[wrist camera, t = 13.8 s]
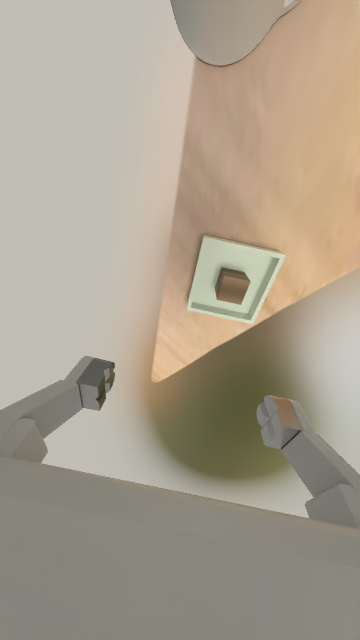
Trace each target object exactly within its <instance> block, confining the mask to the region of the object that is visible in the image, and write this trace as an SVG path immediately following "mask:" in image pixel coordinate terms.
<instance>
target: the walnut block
mask: <svg viewBox="0 0 360 640" xmlns="http://www.w3.org/2000/svg"><path fill="white" fill-rule="evenodd" d="M250 282H251V281H250V280H249V278H248V277H247V275H246V274H245V272H242V271H238V270H233V269H228V268H224V267H221V270H220V273H219V277H218V280H217V283H216V286H215V293H216V299H217V300H220V301H225V302H230V303H234V304H239V305H241V304H242V301H243V299H244V297H245V294H246V292H247V289H248V287H249V285H250Z"/></svg>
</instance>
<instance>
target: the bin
mask: <svg viewBox="0 0 360 640" xmlns="http://www.w3.org/2000/svg"><path fill="white" fill-rule="evenodd" d="M285 257H286V255H285V254H283V253H281V252H280V251H277V250H272V249H268V248H263V247H259V246H254V245H250V244H245V243H241V242H236V241H232V240H227V239H223V238H218V237H213V236H209V235H203V239H202V243H201V248H200V252H199V256H198V260H197V265H196V269H195V273H194V277H193V282H192V286H191V290H190V294H189V299H188V303H187V310H189V311H194V312H199V313H203V314H208V315H213V316H217V317H222V318H226V319H231V320H236V321H240V322H245V323H250V324H253V323H254V321H255V319H256V317H257V314H258V312H259V310H260V308H261V306H262V304H263V302H264V300H265V298H266V296H267V294H268V292H269V290H270V288H271V286H272V284H273V282H274V280H275V277H276V275H277V273H278V271H279V269H280V267H281V265H282V263H283V261H284V259H285ZM221 267H224V268H228V269H233V270H238V271H242V272H245V274H246V275H247V277H248V278H249V280H250V281H251V282H250V285H249V287H248V289H247V292H246V294H245V297H244V299H243V301H242V304H241V305H239V304H234V303H230V302H225V301H220V300H217V299H216V293H215V286H216V283H217V280H218V277H219V273H220V270H221Z"/></svg>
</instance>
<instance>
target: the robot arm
mask: <svg viewBox="0 0 360 640" xmlns="http://www.w3.org/2000/svg"><path fill="white" fill-rule="evenodd" d="M170 1H171V4H172V8H173V12H174V16H175V20H176V23H177V25H178V29H179V31H180V33H181V35H182V37H183V39H184V41H185V43H186V44H187V46H188V47H189V49H190V50H191V51H192V52H193V53H194V54H195V55H196V56H197V57H198V58H199V59H201V60H202V61H204V62H206V63H209V64H212V65H219V66H221V65H228V64H232V63H234V62H237V61H239V60H241V59H242V58H244V57H245V56H246V55H248V54H249V53H250V52H251V51H252V50H253V49H254V48H255V47H256V46H257V45H258V44H259V43H260V42H261V40H262V39H263V38H264V37H265V35H266V34H267V32H268V31H269V30H270V28H271V27H272V25H273V24H274V23H275V22H276V20H277V19H278V18H279V17H281V16H282V15H284V14H285V13H287V12H288V11H290V10H291V9H292V8H294V7H295V6H296V5H297V4H298V3H299V2H300V1H301V0H170ZM114 368H115V363H114V362H110V361H106V360H102V359H98V358H93V357H89V356H84V357H83V358H82V359H81V360H80V361H79V362H78V364H77V365H76V366H75V367H74V368H73V370H72V371H71V372H70V373H69V375H68V376H67V377H66V378H65V380H64V381H62V380H60V381H58V382H56V383H54V384H52V385H50V386H48V387H46V388H44V389H42V390H40V391H38V392H36V393H34V394H32V395H30V396H28V397H26V398H24V399H22V400H20V401H18V402H16V403H14V404H12V405H10V406H8V407H6V408H4V409H2V410H0V640H360V475H359V474H358V473H357V472H356V471H355V470H354V469H353V468H352V467H351V466H350V465H349V464H348V463H347V462H346V461H345V460H344V459H343V458H342V457H341V456H340V455H339V454H338V453H337V452H336V451H335V450H334V449H333V448H332V447H331V446H330V445H328V443H327V442H326V441H324V440H323V439H322V438H321V437H320V436H319V435H318V434H315V432H314V430H313V428H312V426H311V425H310V422H309V421H308V419H307V417H306V415H305V413H304V411H303V409H302V407H301V405H300V403H299V402H298V401H295V400H290V399H286V398H280V397H276V396H271V395H267V396H265V398H264V401H265V402H264V403H261V404H260V405H259V407H258V408H257V419H258V423H259V424H260V425H261V426H262V429H261V434H262V438H263V442H264V445H265V446H269V447H274V448H278V449H282V450H281V451H282V452H283V454H284V455H285V457H286V458H287V460H288V461H289V462H290V464H291V465H292V467H293V468H294V470H295V471H296V472H297V474H298V475H299V477H300V478H301V480H302V481H303V483H304V484H305V485H306V487H307V488H308V489H309V491H310V492H311V494H312V495H313V497H314V498H313V499H311V500H309V501H307V502H306V504H305V507H306V509H307V512H308V515H309V518H310V519H309V518H305V517H300V516H295V515H290V514H285V513H280V512H275V511H270V510H265V509H261V508H256V507H251V506H246V505H241V504H236V503H232V502H227V501H221V500H217V499H212V498H207V497H202V496H197V495H192V494H187V493H183V492H178V491H173V490H168V489H163V488H158V487H153V486H149V485H144V484H139V483H134V482H129V481H124V480H120V479H115V478H110V477H105V476H100V475H95V474H90V473H85V472H81V471H76V470H71V469H66V468H61V467H56V466H51V465H46V464H42V463H41V462H42V460H43V459H44V457H45V456H46V454H47V452H48V451H47V447H46V445H45V442H44V440H43V439H44V438H45V437H46V436H47V435H49V434H50V433H51V432H53V431H54V430H55V429H57V428H58V427H59V426H60V425H62V424H63V423H64V422H66V421H67V420H68V419H70V418H71V417H72V416H73V415H75V414H76V413H77V412H79V411H80V410H81V409H82V408H87V409H93V410H98V411H100V409H101V407H102V405H103V403H104V401H105V399H106V393H107V392H109V391H110V389H111V388H112V385H113V382H114V377H115V373H114V372H113V370H114Z"/></svg>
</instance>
